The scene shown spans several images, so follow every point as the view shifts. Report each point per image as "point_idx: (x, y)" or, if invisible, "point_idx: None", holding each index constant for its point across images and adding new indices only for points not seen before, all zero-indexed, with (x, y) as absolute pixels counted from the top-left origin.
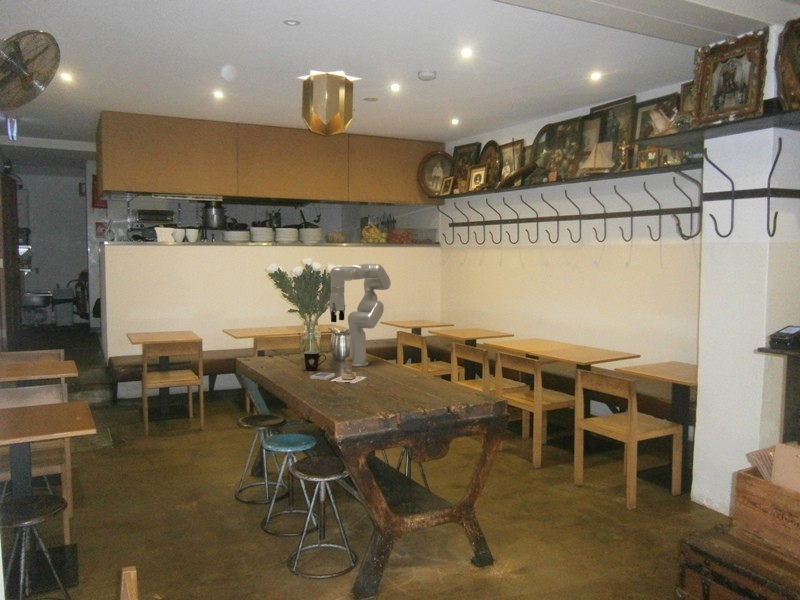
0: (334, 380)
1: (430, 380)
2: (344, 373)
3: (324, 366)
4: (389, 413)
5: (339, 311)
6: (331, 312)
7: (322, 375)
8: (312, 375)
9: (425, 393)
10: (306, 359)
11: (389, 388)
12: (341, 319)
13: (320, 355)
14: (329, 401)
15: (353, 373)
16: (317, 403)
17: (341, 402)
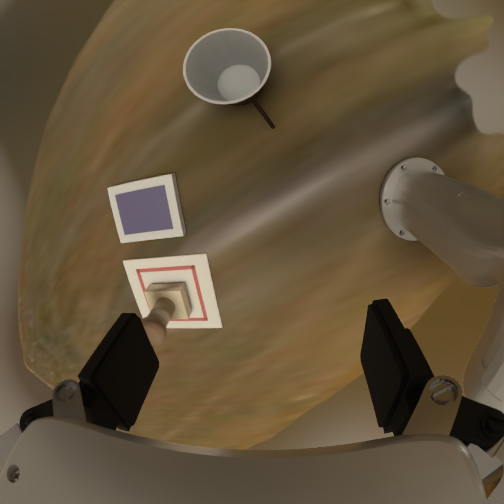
0: (130, 270)
1: (271, 423)
2: (154, 296)
3: (333, 87)
4: None
5: (409, 417)
6: (48, 416)
7: (130, 220)
8: (117, 186)
9: (174, 428)
10: (196, 69)
11: (161, 391)
12: (365, 340)
13: (255, 104)
14: (41, 333)
15: (171, 318)
16: (27, 321)
17: (51, 349)
